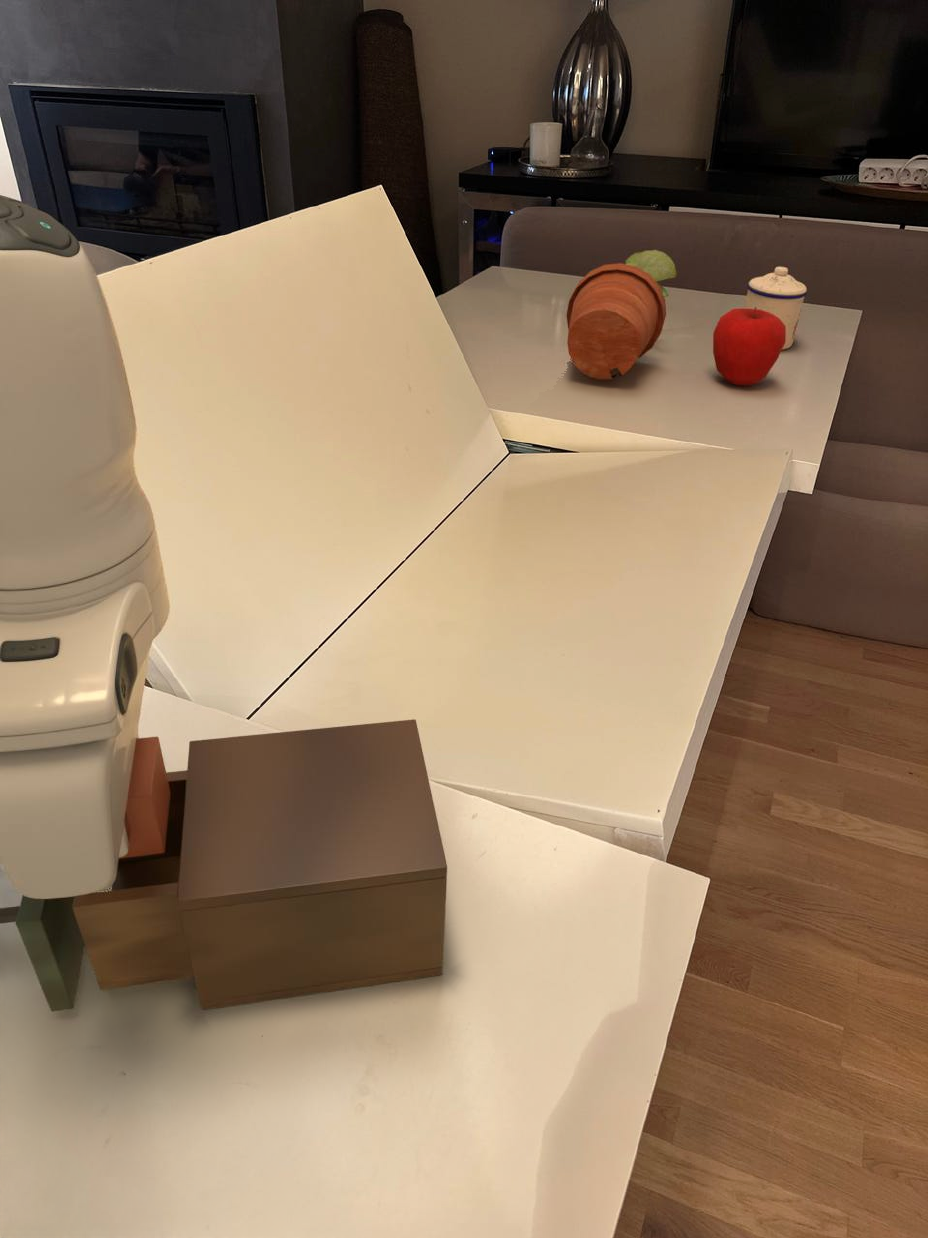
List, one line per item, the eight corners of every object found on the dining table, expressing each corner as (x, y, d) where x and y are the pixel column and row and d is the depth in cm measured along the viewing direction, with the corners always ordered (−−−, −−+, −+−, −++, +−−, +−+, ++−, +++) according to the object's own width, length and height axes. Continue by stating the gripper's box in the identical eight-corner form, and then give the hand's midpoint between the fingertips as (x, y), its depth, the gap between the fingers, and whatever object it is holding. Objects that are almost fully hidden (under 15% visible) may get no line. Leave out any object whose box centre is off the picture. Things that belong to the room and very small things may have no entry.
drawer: (-43, 1026, 48) (-90, 936, 44) (0, 870, 57) (-35, 781, 52) (285, 979, 51) (274, 891, 47) (281, 837, 60) (271, 750, 55)
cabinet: (201, 1010, 50) (176, 901, 45) (209, 848, 60) (189, 740, 54) (442, 975, 53) (447, 867, 47) (414, 824, 62) (415, 718, 56)
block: (77, 864, 47) (57, 805, 45) (89, 801, 51) (72, 744, 48) (164, 853, 48) (151, 795, 45) (171, 793, 51) (158, 735, 49)
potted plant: (651, 406, 128) (677, 314, 154) (661, 299, 118) (687, 219, 144) (542, 397, 132) (585, 308, 158) (544, 292, 122) (589, 216, 148)
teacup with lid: (803, 350, 145) (823, 275, 138) (751, 352, 143) (768, 276, 137) (769, 326, 155) (785, 255, 148) (719, 328, 153) (734, 255, 146)
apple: (693, 381, 132) (707, 305, 126) (723, 365, 138) (738, 292, 132) (756, 400, 127) (775, 322, 121) (784, 382, 133) (803, 307, 127)
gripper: (31, 485, 48) (85, 686, 56) (-83, 756, 32) (17, 985, 40) (155, 479, 49) (191, 677, 57) (107, 737, 33) (166, 964, 41)
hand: (119, 806), depth 48 cm, fingers closed on block, 4 cm apart
